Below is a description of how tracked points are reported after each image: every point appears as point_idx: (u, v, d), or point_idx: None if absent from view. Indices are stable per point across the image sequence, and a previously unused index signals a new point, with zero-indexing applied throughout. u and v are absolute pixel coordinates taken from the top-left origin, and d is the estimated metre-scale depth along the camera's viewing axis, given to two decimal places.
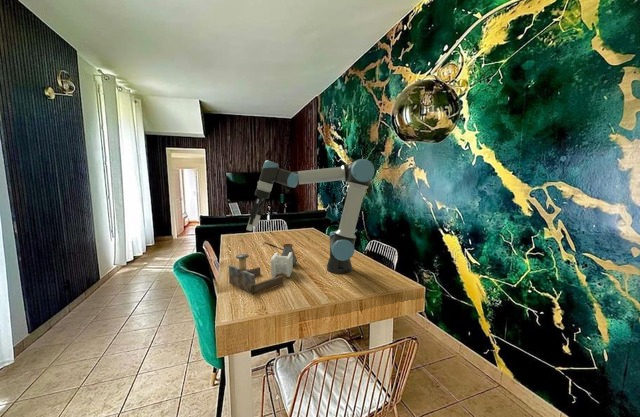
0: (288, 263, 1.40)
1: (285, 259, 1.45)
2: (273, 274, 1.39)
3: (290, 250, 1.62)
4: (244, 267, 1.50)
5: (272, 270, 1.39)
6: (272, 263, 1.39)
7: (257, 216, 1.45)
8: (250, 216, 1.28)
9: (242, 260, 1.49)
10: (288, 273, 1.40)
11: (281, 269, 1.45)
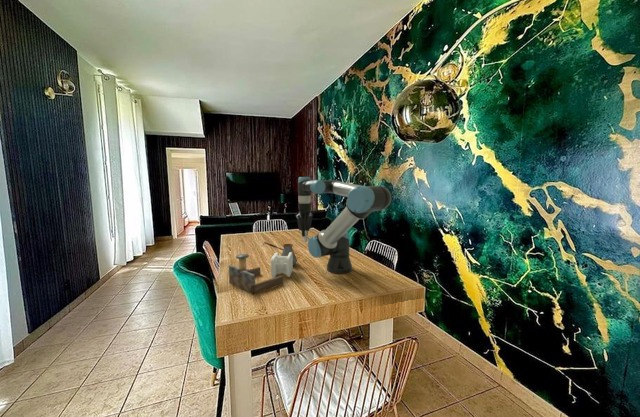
0: (288, 263, 1.40)
1: (285, 259, 1.45)
2: (273, 274, 1.39)
3: (290, 250, 1.62)
4: (244, 267, 1.50)
5: (272, 270, 1.39)
6: (272, 263, 1.39)
7: None
8: (299, 229, 1.56)
9: (242, 260, 1.49)
10: (288, 273, 1.40)
11: (281, 269, 1.45)
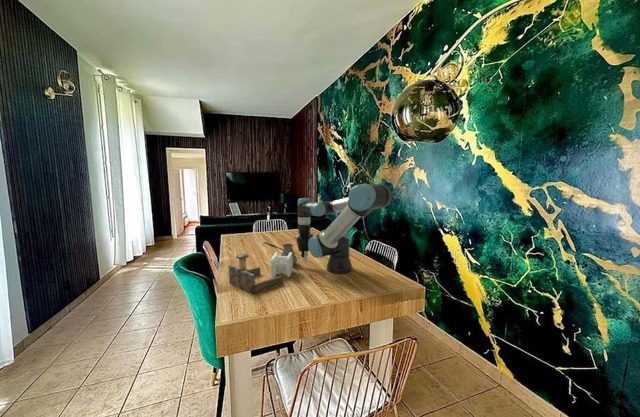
0: (288, 263, 1.40)
1: (285, 259, 1.45)
2: (273, 274, 1.39)
3: (290, 250, 1.62)
4: (244, 267, 1.50)
5: (272, 270, 1.39)
6: (272, 263, 1.39)
7: None
8: (299, 250, 1.57)
9: (242, 260, 1.49)
10: (288, 273, 1.40)
11: (281, 269, 1.45)
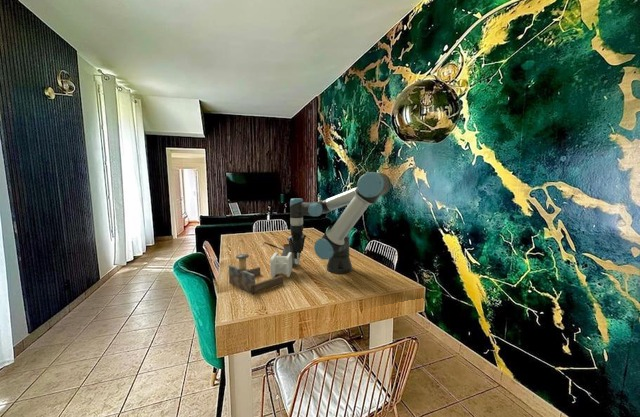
0: (288, 263, 1.39)
1: (285, 259, 1.45)
2: (273, 274, 1.39)
3: (290, 250, 1.62)
4: (244, 267, 1.50)
5: (272, 270, 1.39)
6: (272, 263, 1.39)
7: None
8: None
9: (242, 260, 1.49)
10: (288, 273, 1.40)
11: (281, 269, 1.45)
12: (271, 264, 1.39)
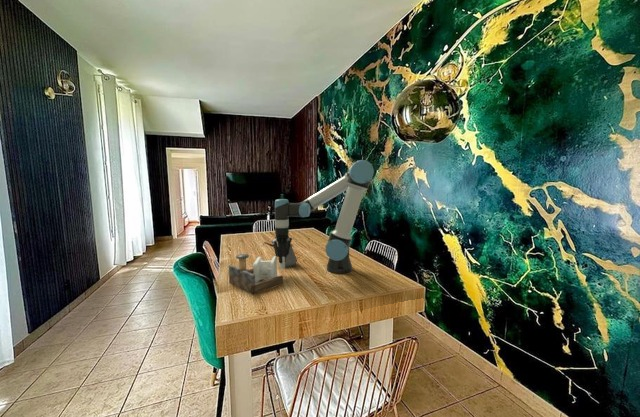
0: (272, 268, 1.31)
1: (269, 264, 1.36)
2: (256, 280, 1.31)
3: (290, 250, 1.62)
4: (244, 267, 1.50)
5: (255, 276, 1.30)
6: (255, 268, 1.30)
7: None
8: None
9: (242, 260, 1.49)
10: None
11: (265, 274, 1.36)
12: (254, 269, 1.30)
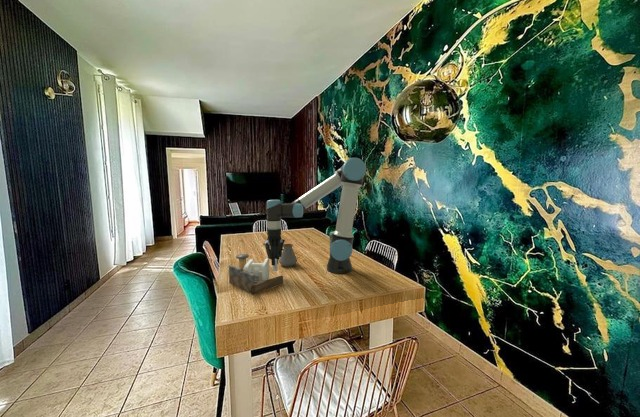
0: (263, 271, 1.27)
1: (260, 266, 1.32)
2: None
3: (290, 250, 1.62)
4: None
5: None
6: None
7: None
8: None
9: (242, 260, 1.49)
10: None
11: (256, 277, 1.32)
12: None
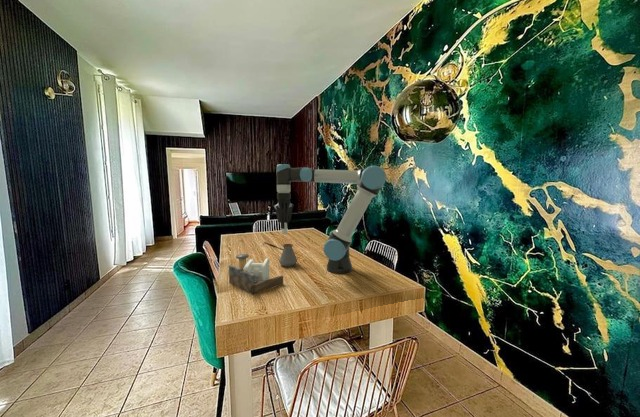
0: (264, 271, 1.27)
1: (260, 266, 1.32)
2: None
3: (290, 250, 1.62)
4: None
5: None
6: None
7: None
8: (278, 221, 1.44)
9: (242, 260, 1.49)
10: None
11: (256, 277, 1.32)
12: None
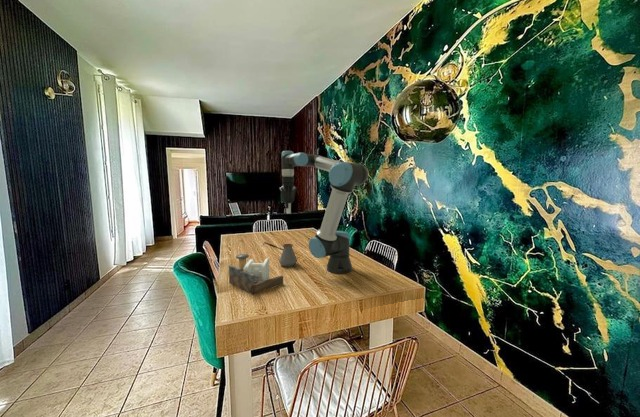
0: (264, 271, 1.27)
1: (261, 266, 1.32)
2: None
3: (290, 250, 1.62)
4: None
5: None
6: None
7: None
8: (283, 201, 1.63)
9: (242, 260, 1.49)
10: None
11: (256, 277, 1.32)
12: None
